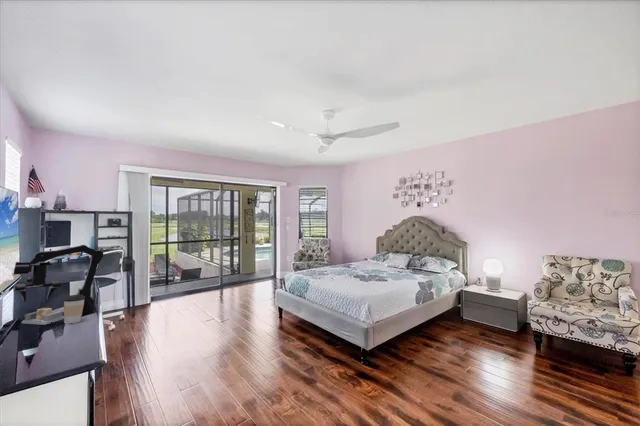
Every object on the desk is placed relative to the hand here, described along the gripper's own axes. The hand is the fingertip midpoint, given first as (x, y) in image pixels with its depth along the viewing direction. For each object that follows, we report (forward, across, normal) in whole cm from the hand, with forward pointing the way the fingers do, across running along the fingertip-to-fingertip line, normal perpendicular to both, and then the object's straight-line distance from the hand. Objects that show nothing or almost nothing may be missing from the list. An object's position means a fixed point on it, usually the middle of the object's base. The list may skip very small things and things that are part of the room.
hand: (36, 301), depth 158 cm
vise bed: (+11, -3, +4) cm, 12 cm away
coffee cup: (+11, -13, +18) cm, 25 cm away
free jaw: (+10, 0, -1) cm, 10 cm away
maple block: (+10, -3, +4) cm, 11 cm away
